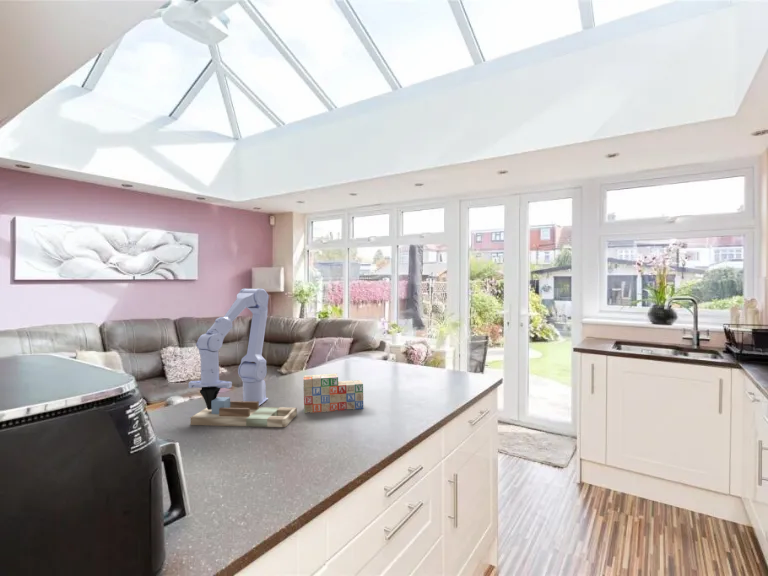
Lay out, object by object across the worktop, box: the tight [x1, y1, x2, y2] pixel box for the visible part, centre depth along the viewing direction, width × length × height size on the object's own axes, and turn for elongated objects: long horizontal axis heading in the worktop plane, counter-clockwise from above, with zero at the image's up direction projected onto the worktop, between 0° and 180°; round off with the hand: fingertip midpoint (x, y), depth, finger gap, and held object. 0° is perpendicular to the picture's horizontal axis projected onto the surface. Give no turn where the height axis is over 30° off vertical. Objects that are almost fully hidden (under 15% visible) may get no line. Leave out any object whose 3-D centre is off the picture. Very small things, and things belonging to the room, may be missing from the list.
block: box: [211, 396, 231, 414], centre depth 140 cm, size 4×4×4 cm
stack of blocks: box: [302, 373, 364, 414], centre depth 150 cm, size 21×6×12 cm, turn 100°
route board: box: [189, 400, 298, 428], centre depth 139 cm, size 12×32×5 cm, turn 85°
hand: (210, 408), depth 140 cm, fingers closed
